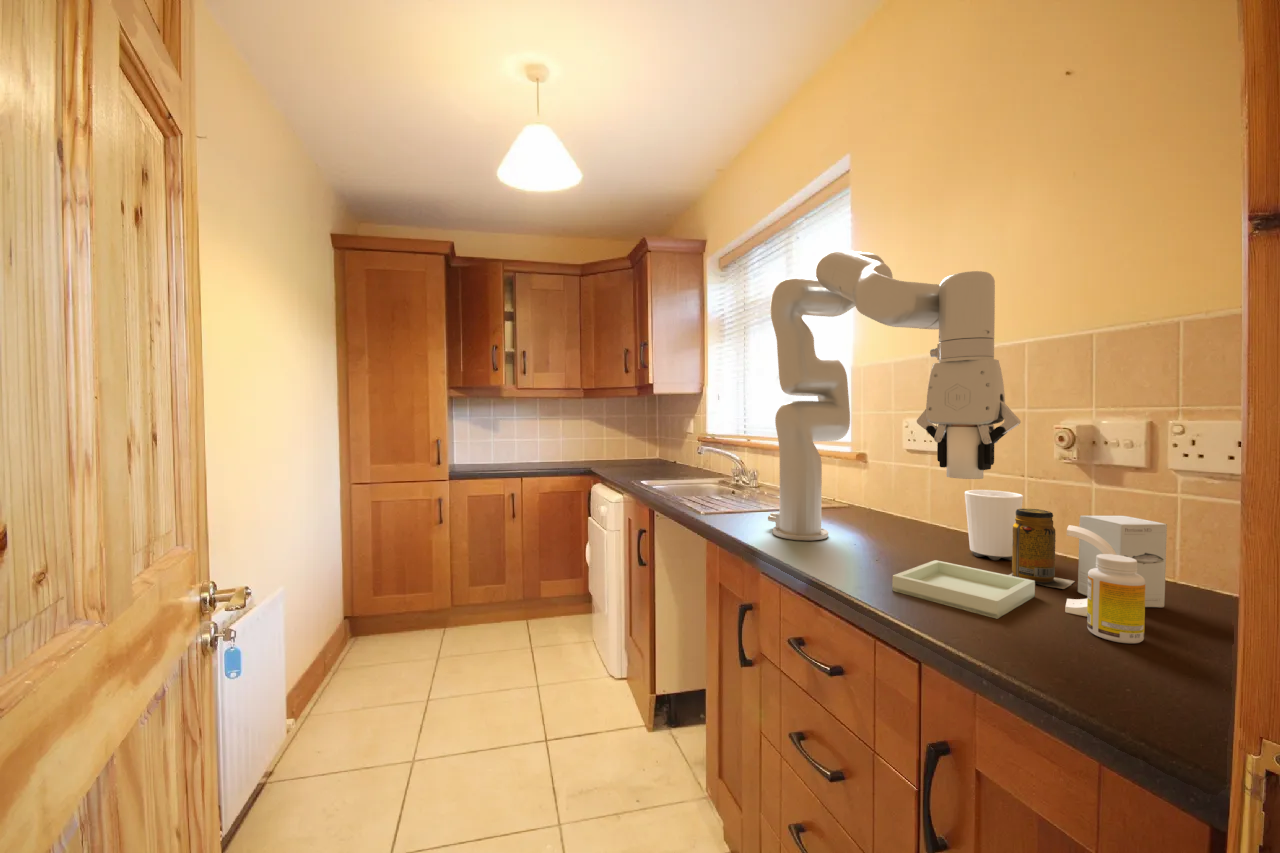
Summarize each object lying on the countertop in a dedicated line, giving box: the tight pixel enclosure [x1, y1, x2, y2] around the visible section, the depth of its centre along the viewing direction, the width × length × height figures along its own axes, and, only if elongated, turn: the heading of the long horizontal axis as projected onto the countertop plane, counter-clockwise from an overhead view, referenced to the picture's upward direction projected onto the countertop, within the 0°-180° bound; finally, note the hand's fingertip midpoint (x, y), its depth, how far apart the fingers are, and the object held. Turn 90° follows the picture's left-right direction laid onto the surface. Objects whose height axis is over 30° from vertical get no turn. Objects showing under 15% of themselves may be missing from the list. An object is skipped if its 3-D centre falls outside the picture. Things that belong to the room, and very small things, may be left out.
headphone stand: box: [1064, 524, 1117, 617], centre depth 77 cm, size 5×6×12 cm
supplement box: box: [1077, 515, 1168, 608], centre depth 83 cm, size 7×7×13 cm
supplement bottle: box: [1086, 554, 1146, 644], centre depth 69 cm, size 6×6×10 cm
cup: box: [964, 489, 1024, 561], centre depth 108 cm, size 10×10×13 cm
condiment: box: [1008, 508, 1076, 590], centre depth 93 cm, size 7×8×12 cm
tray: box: [891, 559, 1036, 620], centre depth 86 cm, size 15×15×2 cm
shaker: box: [946, 424, 984, 480], centre depth 85 cm, size 5×5×9 cm
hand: (964, 466), depth 85 cm, fingers closed on shaker, 5 cm apart
